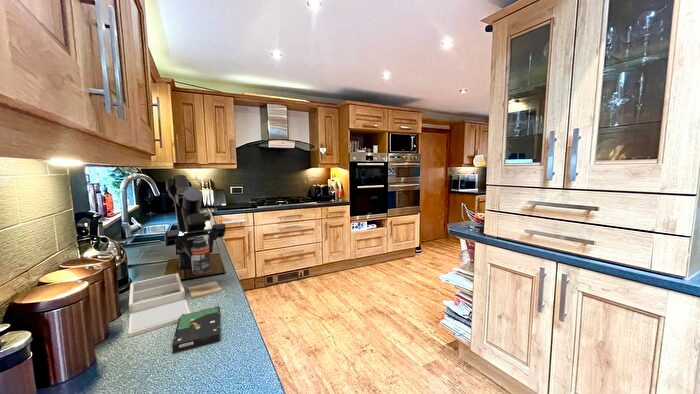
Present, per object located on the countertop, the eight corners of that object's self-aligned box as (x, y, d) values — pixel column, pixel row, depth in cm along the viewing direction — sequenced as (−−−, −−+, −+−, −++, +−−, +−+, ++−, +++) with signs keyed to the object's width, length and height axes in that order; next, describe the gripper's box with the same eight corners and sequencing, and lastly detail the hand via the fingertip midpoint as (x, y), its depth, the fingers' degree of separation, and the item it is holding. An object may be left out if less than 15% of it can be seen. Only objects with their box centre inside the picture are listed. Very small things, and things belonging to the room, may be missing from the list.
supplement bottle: (202, 267, 100) (200, 237, 98) (215, 269, 98) (213, 238, 96) (188, 274, 94) (185, 242, 93) (201, 276, 92) (198, 243, 91)
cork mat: (188, 289, 98) (188, 287, 98) (216, 282, 103) (215, 280, 103) (192, 298, 91) (192, 296, 90) (221, 290, 96) (221, 289, 96)
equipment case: (131, 292, 96) (130, 283, 95) (178, 282, 104) (177, 273, 104) (128, 337, 70) (127, 324, 70) (191, 318, 79) (190, 306, 78)
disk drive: (221, 343, 68) (220, 314, 82) (220, 332, 68) (219, 305, 81) (172, 356, 64) (179, 323, 77) (171, 345, 64) (178, 313, 77)
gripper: (162, 207, 90) (169, 247, 83) (222, 201, 102) (234, 236, 95) (161, 226, 97) (168, 265, 90) (218, 219, 109) (228, 253, 102)
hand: (201, 254), depth 94 cm, fingers closed on supplement bottle, 6 cm apart
